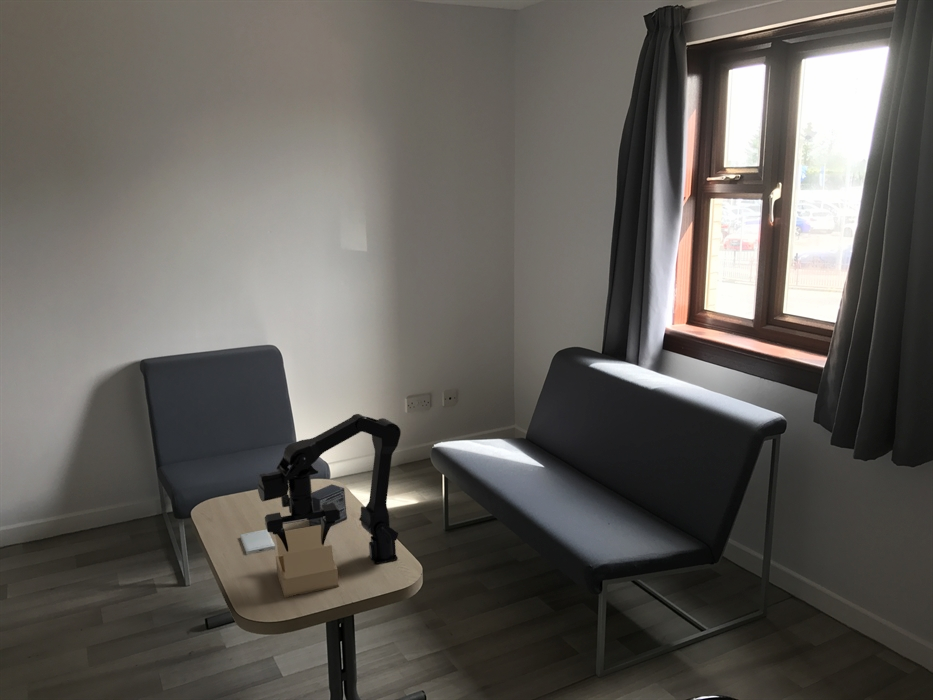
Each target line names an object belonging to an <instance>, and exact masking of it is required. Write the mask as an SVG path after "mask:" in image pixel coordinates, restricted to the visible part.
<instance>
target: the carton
mask: <svg viewBox="0 0 933 700" xmlns="http://www.w3.org/2000/svg"><path fill="white" fill-rule="evenodd" d="M275 563H276V564H275V565H276V575H277V576H278V577H279V578H278V577H277V578H278V581H279V584H280V588H281V590H282V594H283V598H284V597H285V598H289V596H290V597H293V595H295V596H297V595H296V594H300V595H302V594H301V593H305V594H309V593H313V592H317V591H318V592H319V591H323V590H327V589H332V588H338V587H339V586H340V585H339V570H338V567H337V565H336V563H335V561H334V568H335V569H334V570H329V571H324V572H319V573H314V574H309V575H304V576H299V577H294V578H289V579H286V575H285V567H284V559H283V555H275ZM308 592H309V593H308Z"/></svg>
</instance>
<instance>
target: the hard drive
mask: <svg viewBox="0 0 933 700" xmlns="http://www.w3.org/2000/svg"><path fill="white" fill-rule="evenodd" d="M240 540H241V542H242V545H243V548H244V550H245V553H246V555H247V554H249V555H252V553H253V554H257V553H261V552H267V551H270V550H271V549H272V550H276V549H275V548H276V546H277V545H276V544H275V542H274V540H273V538H272V536H271V532H267V528H266V529H262V530H255V531H252V532H247V533H242V534H240ZM266 550H267V551H266ZM272 550H271V551H272Z"/></svg>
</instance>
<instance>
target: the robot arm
mask: <svg viewBox="0 0 933 700" xmlns="http://www.w3.org/2000/svg"><path fill="white" fill-rule="evenodd" d="M362 432H363V433H365V434H368V435H371V440H372V445H373V448H374V456H373V457H374V458H373V466H372V475H371V484H370V491H369V492H370V494H369V500H368V503H367V504H366V506H361V507H360V515H359V516H360V517H359V518H358V521H360V524H361V525H360V526H362V528H363V529H364V530H365V532H368V534H370V535H371V536H370V541H369V542H368V548H369V550H368V552H369V557H370V559H371V560H372V561H373V563H374V564H375V565H377V564H383V563H387V562H392V561H396V560H398V556H397V553H396V550H397V548H396V541H397V540H398V537H399V532H398V531H396V530H395V529H394V528H393V527H392V526H391V525H390V514H389V510H388V507H387V506H388V504H387V501H388V492H389V486H390V485H389V483H390V474H391V466H392V458H393V454H394V452H395V450H396V449H397V448H398V444H399V441H400V438H401V435H402V434H401V432H402V431H401V428H400V426H399V425H397V424H396V423H394V422H392V421H390V420H389V419H387V418H385V417H384V418H382V417H381V418H378V419H376V418H373V417H369V416H364V415H362V414H360V413H355V414H353V415H352V416H351V417H349V418H348V419H346V420H344V421H342V422H340V423H338V424H337V425H335V426H333V427H330V428H329V429H327V430H326V431H324V432H322V433H320V434H317V435H315V436H314V437H311V438H306V439H301V440H298V441H296V442H295V441H294V442H292V443H290V444H288V445H287V446H286V447H285V448H284V451H283V456H282V458H281V459H280V462H279V463H278V465H277V466H276V467H275V468H276V471H273V472H269V473H268V472H267V473H260V474H259V477H258V478H259V479H258V482H257V485H256V486H257V493H258V495H259V498H260V500H261V501H262V502H266V501H271V500H275V499H276V500H277V499H279V498H280V500H281V507H282V508H287V507H288V511H289V515H283V516H282V514H281V512H275V513H270V514H269V513H268V514H266V515H265V517H264V525H265V527H266V529H267V532H269V533H272V535H275V536H276V534H277V535H278V536H279V538H280V539H281V540H282V542H283V544H284V547H285V549H286V551H287V552H288V544H287V539H286V535H285V531H286V530H285V528H284V525H286V524H291V523H299V522H303V521H309V520H310V519H316V518H321V544H322V545H324V546H325V543H326V539H327V536H328V533H329V531H330V529H331V527H332V526H331V525H332V524H335V521H337V520H340V512H339V509H338V507H337V506H336V504H334V503H332V504H326V505H321V510H318V511H313V502H312V492H313V491H312V479H311V476H313V475H317V474H318V473H319V470H317V469H316V468H315V467H313V464H315V462H317V461H318V460H319V458H320V457H321V455H323V454H324V453H325V452H328V451H329V450H330V449H333V448H335V447H336V446H338V445H340V444H341V443H344V442H345V441H347V440H349V439H350V438H352V437H354V436H356V435H358V434H360V433H362ZM289 466H290V467H289ZM288 493H289V494H288ZM335 525H336V524H335Z"/></svg>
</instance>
